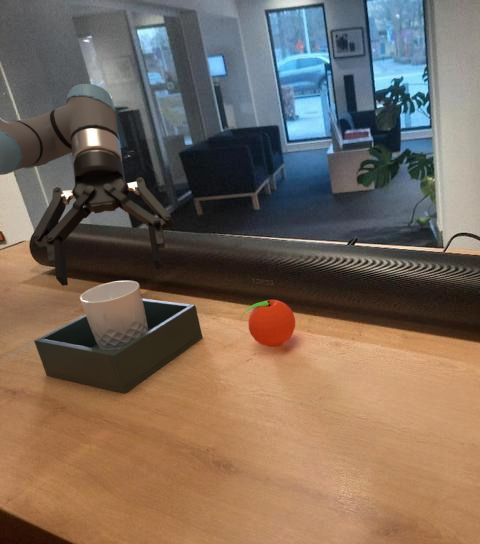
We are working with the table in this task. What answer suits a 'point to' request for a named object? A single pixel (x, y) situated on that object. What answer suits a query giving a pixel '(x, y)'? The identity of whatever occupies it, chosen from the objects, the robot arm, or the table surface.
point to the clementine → (271, 322)
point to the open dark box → (127, 360)
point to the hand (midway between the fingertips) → (111, 273)
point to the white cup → (115, 313)
